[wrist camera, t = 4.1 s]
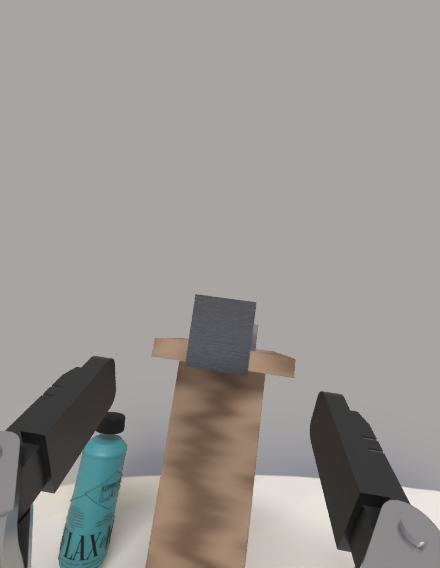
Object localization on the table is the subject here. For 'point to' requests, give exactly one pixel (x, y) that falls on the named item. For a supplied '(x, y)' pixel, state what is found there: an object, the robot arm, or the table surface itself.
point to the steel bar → (221, 335)
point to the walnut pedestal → (209, 461)
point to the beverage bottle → (94, 497)
